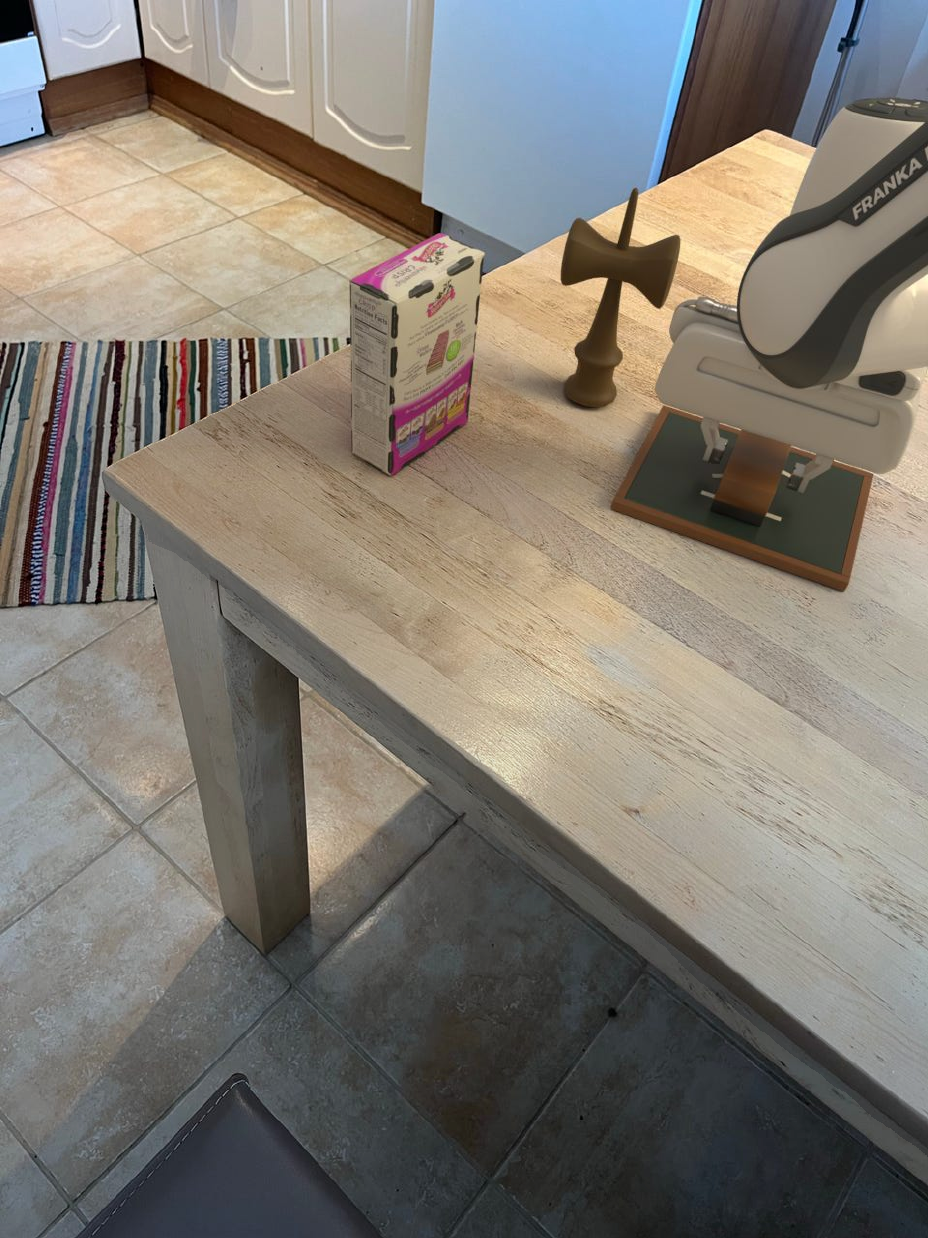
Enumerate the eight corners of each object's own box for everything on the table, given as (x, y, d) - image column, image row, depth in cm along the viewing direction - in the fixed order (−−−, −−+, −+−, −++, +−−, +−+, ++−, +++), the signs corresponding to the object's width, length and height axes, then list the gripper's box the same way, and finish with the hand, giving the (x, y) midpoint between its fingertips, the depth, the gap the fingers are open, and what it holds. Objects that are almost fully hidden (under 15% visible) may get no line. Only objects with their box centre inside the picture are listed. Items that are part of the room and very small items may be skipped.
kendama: (634, 424, 89) (691, 214, 74) (534, 401, 90) (571, 190, 75) (641, 390, 93) (697, 185, 78) (546, 369, 94) (584, 162, 79)
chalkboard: (869, 482, 87) (874, 472, 86) (844, 592, 76) (849, 583, 75) (660, 413, 91) (663, 404, 90) (610, 509, 80) (612, 499, 80)
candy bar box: (426, 400, 88) (439, 229, 76) (469, 423, 87) (489, 251, 75) (345, 453, 82) (346, 275, 70) (389, 479, 80) (398, 301, 68)
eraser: (782, 462, 86) (796, 429, 83) (760, 527, 79) (775, 494, 76) (735, 446, 86) (747, 414, 84) (709, 509, 80) (722, 476, 77)
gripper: (669, 307, 72) (628, 453, 82) (944, 390, 67) (865, 534, 78) (690, 272, 76) (648, 416, 86) (950, 349, 71) (874, 490, 82)
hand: (753, 472), depth 82 cm, fingers open, 6 cm apart
